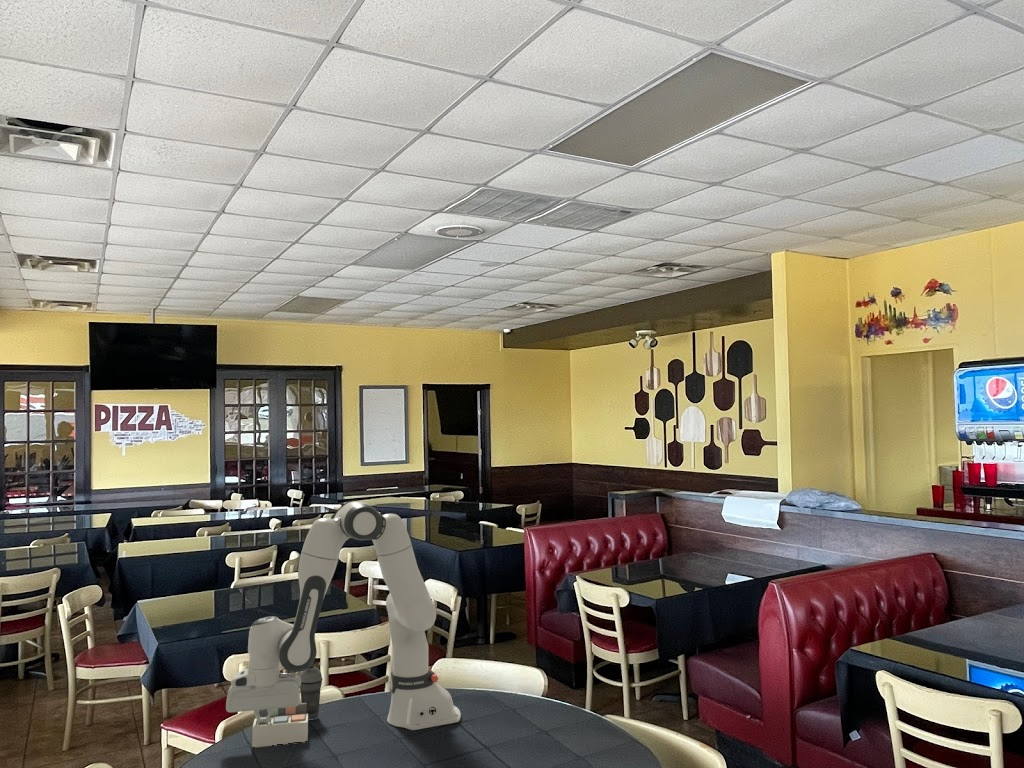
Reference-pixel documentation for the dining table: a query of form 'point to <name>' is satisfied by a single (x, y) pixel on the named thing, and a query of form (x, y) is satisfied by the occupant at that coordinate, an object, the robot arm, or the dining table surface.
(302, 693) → the beverage cup
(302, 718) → the key terracotta
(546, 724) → the dining table surface
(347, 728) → the dining table surface
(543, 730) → the dining table surface
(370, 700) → the dining table surface
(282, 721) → the key slate
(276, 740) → the keypad console
